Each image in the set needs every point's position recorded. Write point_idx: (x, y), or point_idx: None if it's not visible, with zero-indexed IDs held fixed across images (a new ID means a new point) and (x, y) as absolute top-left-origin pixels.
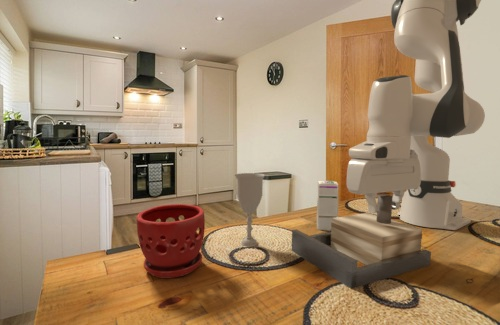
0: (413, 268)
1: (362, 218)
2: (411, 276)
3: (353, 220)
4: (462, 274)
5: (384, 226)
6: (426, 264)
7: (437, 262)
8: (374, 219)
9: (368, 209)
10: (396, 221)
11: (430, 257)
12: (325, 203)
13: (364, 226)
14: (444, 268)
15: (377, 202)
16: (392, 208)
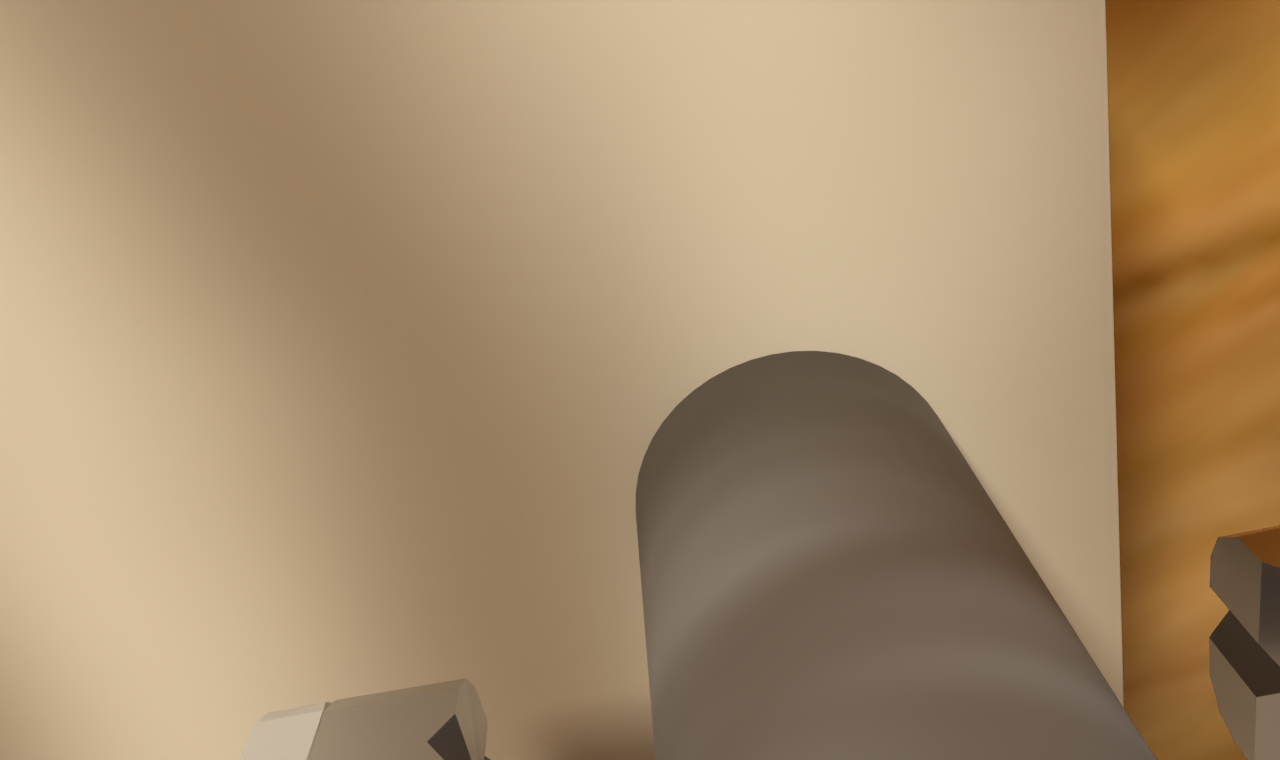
0: None
1: (424, 157)
2: None
3: (57, 274)
4: (1188, 755)
5: (557, 755)
6: None
7: (1247, 516)
8: (702, 307)
9: (249, 748)
10: (1109, 534)
11: None
12: None
13: (116, 697)
14: (1159, 638)
15: (726, 750)
16: (1244, 629)
